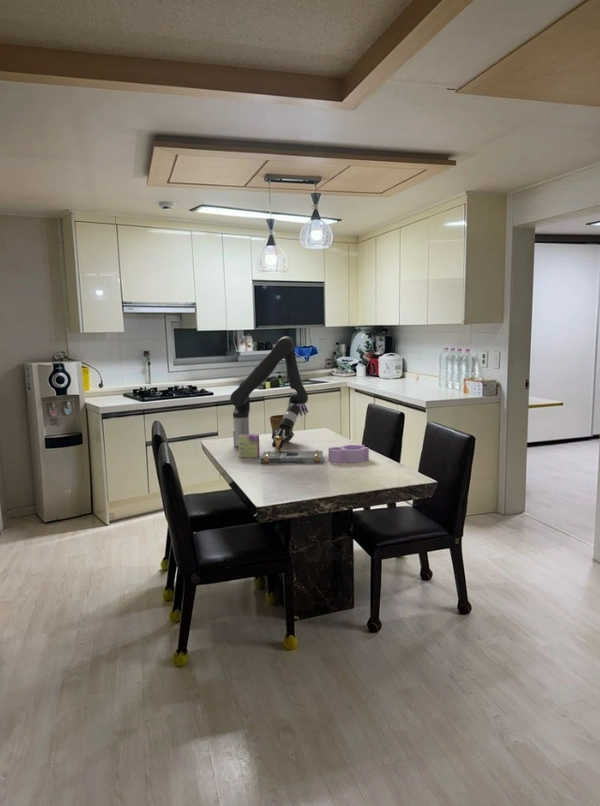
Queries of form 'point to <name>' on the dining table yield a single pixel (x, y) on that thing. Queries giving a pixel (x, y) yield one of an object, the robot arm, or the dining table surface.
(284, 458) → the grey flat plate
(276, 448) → the master link pin
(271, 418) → the plant pot
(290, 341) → the robot arm
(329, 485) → the dining table surface
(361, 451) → the purple cup holder
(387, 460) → the dining table surface
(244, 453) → the box
